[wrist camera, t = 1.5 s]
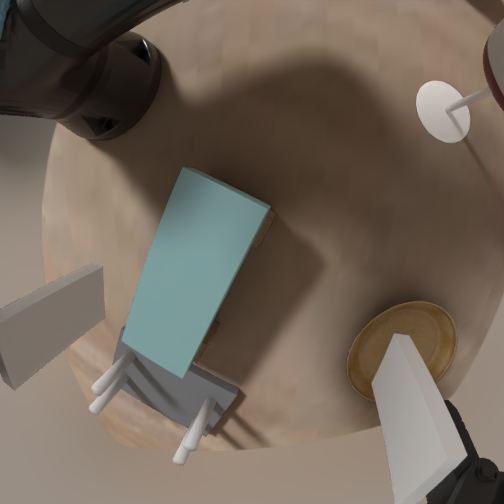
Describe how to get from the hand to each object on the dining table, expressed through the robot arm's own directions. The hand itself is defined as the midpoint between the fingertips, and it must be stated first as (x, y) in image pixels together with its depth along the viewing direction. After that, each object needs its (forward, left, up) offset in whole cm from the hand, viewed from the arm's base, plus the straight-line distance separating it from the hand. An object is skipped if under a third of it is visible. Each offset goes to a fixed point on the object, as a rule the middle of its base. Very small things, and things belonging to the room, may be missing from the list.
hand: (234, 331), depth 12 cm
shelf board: (-6, -7, -15) cm, 18 cm away
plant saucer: (+20, -5, -21) cm, 29 cm away
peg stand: (-4, -27, -20) cm, 34 cm away
